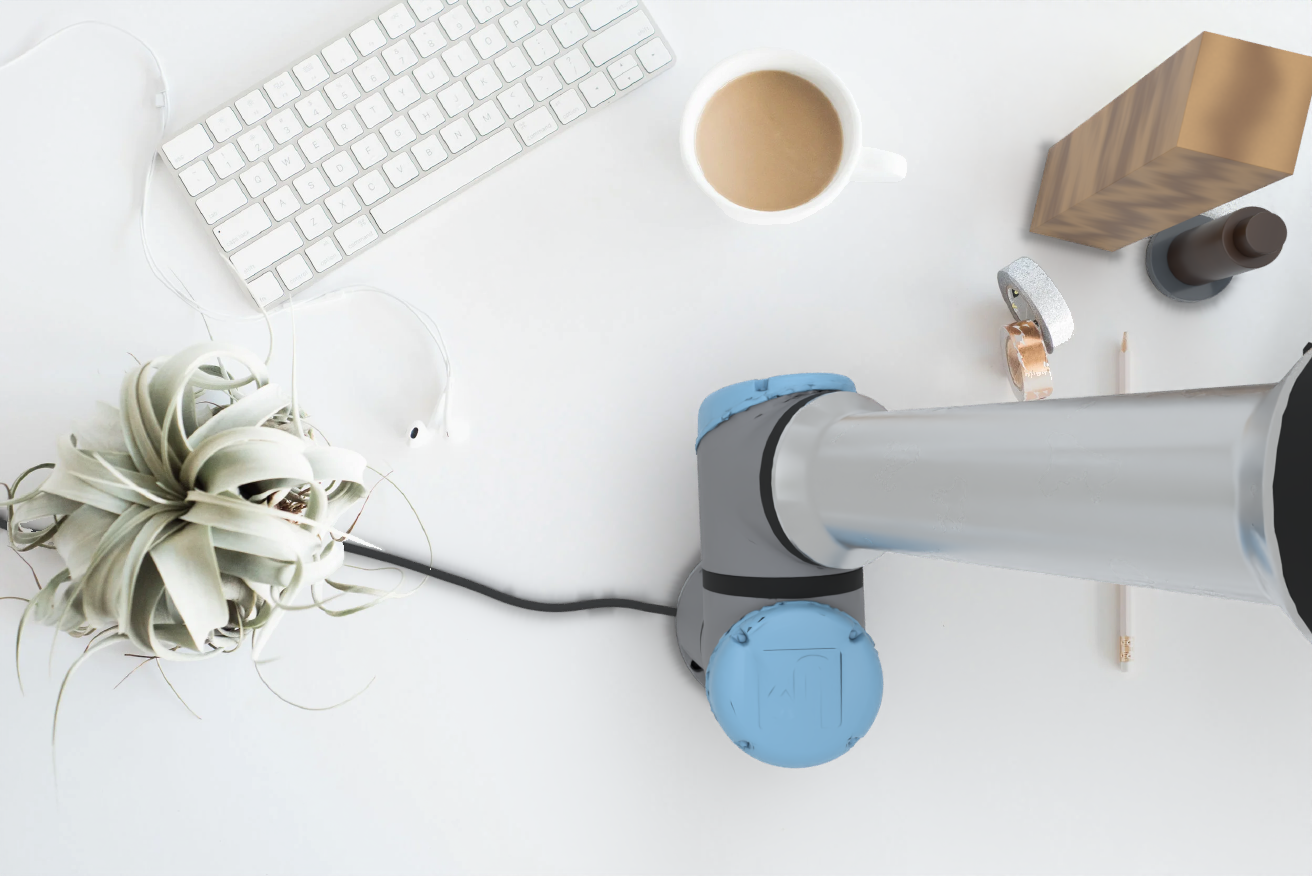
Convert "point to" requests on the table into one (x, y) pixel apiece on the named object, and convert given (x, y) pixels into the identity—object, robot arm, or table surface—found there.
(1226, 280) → the coaster
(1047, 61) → the table surface
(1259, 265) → the pepper mill
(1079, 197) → the block
